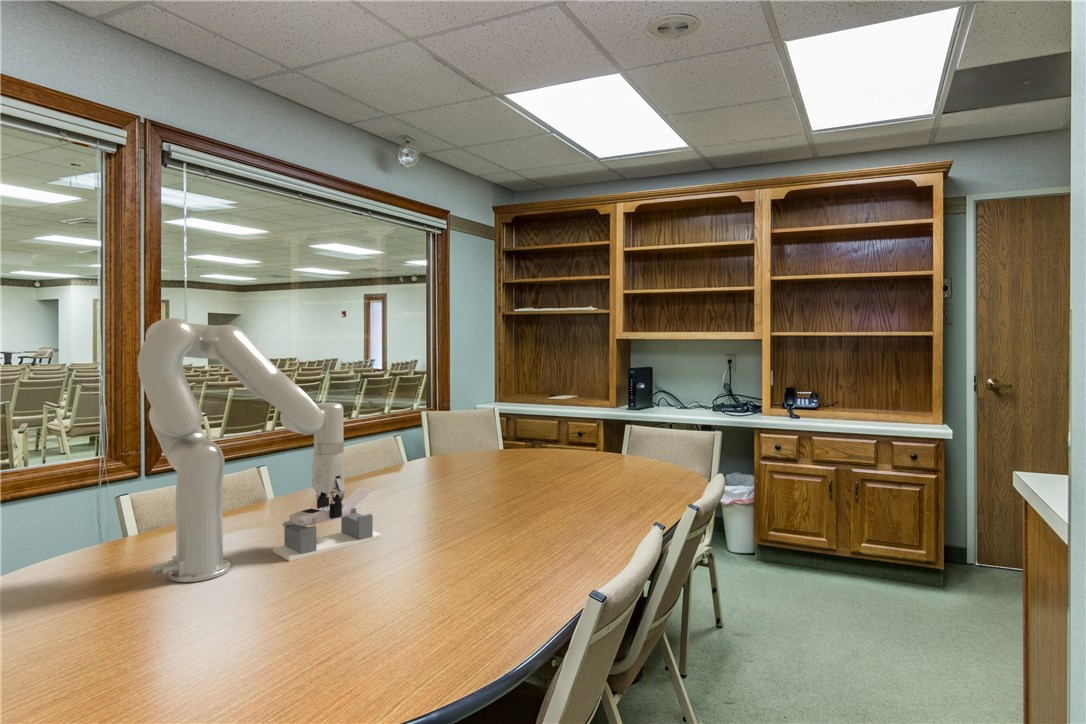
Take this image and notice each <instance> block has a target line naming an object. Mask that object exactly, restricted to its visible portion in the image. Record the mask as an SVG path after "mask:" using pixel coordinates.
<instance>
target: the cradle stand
mask: <svg viewBox="0 0 1086 724" xmlns="http://www.w3.org/2000/svg"><path fill="white" fill-rule="evenodd" d="M340 519H341V523H340V525H341V526H340V527H341V529H340V530H341V532H338V533H337V532H336V533H333V534H329V535H328V534H327V535H324V536H319V537H317V526H316V525H310V526H307V525H306V526H302V525H297V524H292V525H287V526H283V527H284V528H283V529H284V530H283V531H284V545H280V546H277V547H273V548H272V553H275V555H278V556H280V557H281V558H283V559H285V560H287V561H288V562H293V561H296V560H299V559H304V558H307V557H311V556H312V557H313V556H315V555H320V554H323V553H324V554H325V553H327V552H331V551H336V550H339V549H344V548H348V547H351V546H356V545H361V544H363V543H368V542H372V541H375V540H376V541H377V540H381V539H383V534H382V533H379V532H377V531H375V530H373V528H374V527H373V514H372V513H367V514H361V513H358V512H357V508H355V507H353V508H352V509H351V513H350V515H349V516H346V517H342V518H340ZM289 521H290V520H286V521H284V522H283V523H286V522H289Z"/></svg>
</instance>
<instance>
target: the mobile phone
mask: <svg viewBox="0 0 1086 724" xmlns="http://www.w3.org/2000/svg"><path fill="white" fill-rule="evenodd" d="M372 491H373V489H369V488H364V487H363V488H362V487H358V488H356V489H355V490H354V491H353V492H352V493H351V494H350V495H348V496H347V497H346V498H345V499H343V502H342V516H341V517H339V518H334V519H330V505H329V506H328V507H323V508H318V509H317V508H307V509H303V510H301V511H300V510H299V511H297V512H295V513H293V514H290V515H289V520H288V521H289V522H287V521H285V522H286V523H284V522H283V523H282V526H283V527H284V526H287V525H292V524H297V525H302V526H306V527H307V526H316V525H318V524H322V523H327V522H329V521H334V520H337V519H341V518H342V517H346V516H349V515H350V513H351V509H352V508H355V507H357V505H358V504H359V503H360V502H362V501H363V499H365V498H366V497H367V496H368V495H369V494H370V493H371V492H372Z"/></svg>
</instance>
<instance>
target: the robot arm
mask: <svg viewBox="0 0 1086 724" xmlns="http://www.w3.org/2000/svg"><path fill="white" fill-rule="evenodd" d="M185 358H194V359H195V358H196V359H207V360H218V361H219V362H220V364H222V366H224V367H225V368H226V369H227V370H228V371H229V372H230V373H231V374H232V375H233V376H234V377H235V378H236V379H237V380H238V381H239V382H240V383H241V385H242V386H244V388H246V389H247V391H249V392H250V393H252V394H253V395H255V396H256V397H258V398H260V399H262V400H264V401H266V402H268V403H269V404H270V405H272V406H273V407H274V408H275V409H276V410H277V411H278V412H280V414H279V415H280V416H279V419H280V423H281V425H282V426H283V427H284V429H286V430H287V431H290V432H292V433H296V434H297V433H298V434H300V435H305V436H309V435H313V460H312V461H313V462H312V470H311V471H312V473H311V486H312V489H314V490H315V492H316V495H315V497H316V509H318V508H323V507H328V506H330V519H334V518H338V519H340V518H339V517H341V516H342V502H343V501H344V496H345V494H346V489H345V480H346V479H345V465H344V449H345V448H344V447H345V446H344V445H345V444H344V442H345V441H344V437H345V436H344V430H345V429H344V406H343V404H341V403H340V402H321V403H315V401H314V400H313V399H312V398H311V397H310V396H309V394H308V393H306V392H305V391H304V390H303V389H302V388H301V387H300V386H299V385H298V384H296V383H295V382H294V381H293V380H292V379H290V377H288V376H287V375H286V374H285V373H284V372H283V371H281V370H280V369H279V368H278V367H277V366H276V365H275V364H274V363H273V361H271V360H270V359H269V358H268V357H267V355H265V354H264V352H263V351H262V350H261V349H260V348H259V347H258V346H257V345H256V343H254V341H252V340H251V338H250V337H249V336H248V335H247V334H246V333H245V332H244V331H243V330H241V329H240V328H239V327H237V326H235V325H232V324H221V325H211V324H210V325H209V324H201V323H200V324H199V323H191V322H188V321H187V320H184V319H182V318H178V317H170V318H165V319H160V320H157V321H154V322H153V323H152V324H151V325H150V326H149V327H148V328H147V330H146V332H145V340H144V342H143V343H142V345H141V348H140V350H139V354H138V357H137V372H138V376H139V379H140V383H141V385H142V387H143V390H144V392H145V395H146V397H147V399H148V400H147V401H148V402H149V404H150V405H149V406H150V409H149V411H148V417H149V418H148V420H149V422H150V426H151V428H152V431H153V433H154V435H155V437H156V439H157V442H158V443H159V445H160V449H161V450H162V451H163V455H164V456H165V459H166V460H167V463H168V464H169V465H170V467H172V469H173V470H174V471H176V484H175V485H176V486H175V542H176V543H175V546H176V547H175V549H176V550H175V551H176V553H175V555H172V557H171V558H172V559H170V560H168V561H167V562H163V563H157V564H154V565H152V566H151V571H152V574H153V575H155V574H159V573H160V574H161V575H164V574H168V579H169V580H170V581H172V582H176V583H196V582H203V581H207V580H212V579H215V578H217V577H220V576H222V575H224V574H226V573H228V571H230V569H231V562H230V561H228V560H225V559H224V545H223V544H224V541H223V538H224V537H223V536H224V535H223V534H224V533H223V532H224V530H223V526H224V525H223V523H224V522H223V483H224V482H223V480H224V474H225V473H224V472H225V457H224V453H223V450H222V449H221V448H220V446H219V445H218V444H217V443H216V442H215V441H212V440H211V439H208V438H207V437H206V435H205V432H204V431H203V428H202V426H201V425H202V424H203V423H202V422H203V413H202V412H203V411H202V409H201V407H200V405H199V403H198V402H197V399H196V397H195V396H194V393H193V391H192V388H191V386H190V384H189V381H188V379H187V376H186V373H185V371H184V359H185ZM334 520H335V519H334Z"/></svg>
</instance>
